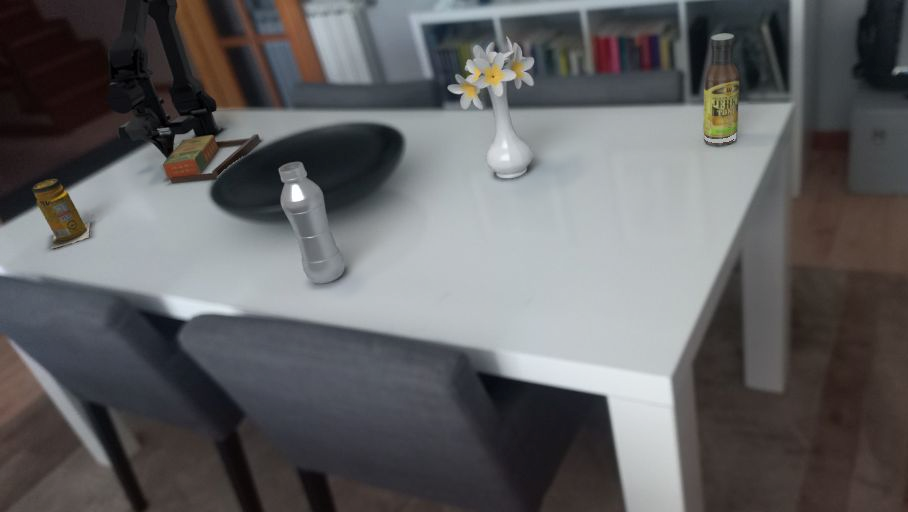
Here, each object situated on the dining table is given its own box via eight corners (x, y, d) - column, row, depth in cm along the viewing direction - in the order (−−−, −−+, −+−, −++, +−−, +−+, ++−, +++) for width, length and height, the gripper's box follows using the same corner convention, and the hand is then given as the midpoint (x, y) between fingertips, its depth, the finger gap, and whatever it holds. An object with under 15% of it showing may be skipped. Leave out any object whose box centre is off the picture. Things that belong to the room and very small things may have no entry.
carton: (219, 149, 188) (213, 133, 185) (201, 174, 174) (194, 157, 172) (188, 154, 188) (182, 139, 186) (167, 180, 174) (160, 163, 172)
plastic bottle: (311, 271, 123) (272, 162, 113) (350, 264, 123) (315, 154, 113) (305, 291, 118) (264, 179, 107) (346, 284, 118) (309, 170, 107)
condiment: (89, 223, 159) (63, 173, 152) (89, 238, 152) (61, 186, 146) (54, 235, 157) (26, 184, 150) (51, 250, 150) (22, 198, 144)
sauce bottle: (711, 150, 137) (710, 44, 126) (698, 139, 142) (695, 36, 132) (744, 143, 137) (745, 36, 127) (729, 132, 143) (729, 29, 132)
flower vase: (461, 193, 140) (433, 64, 126) (503, 153, 153) (481, 33, 140) (522, 197, 134) (500, 62, 121) (560, 155, 147) (543, 29, 134)
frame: (217, 146, 190) (214, 138, 189) (260, 141, 187) (258, 134, 186) (171, 183, 172) (168, 175, 171) (219, 178, 169) (216, 171, 168)
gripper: (91, 114, 168) (119, 176, 177) (161, 107, 164) (187, 171, 173) (119, 98, 178) (145, 157, 186) (186, 91, 174) (210, 152, 182)
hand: (170, 159), depth 181 cm, fingers closed
